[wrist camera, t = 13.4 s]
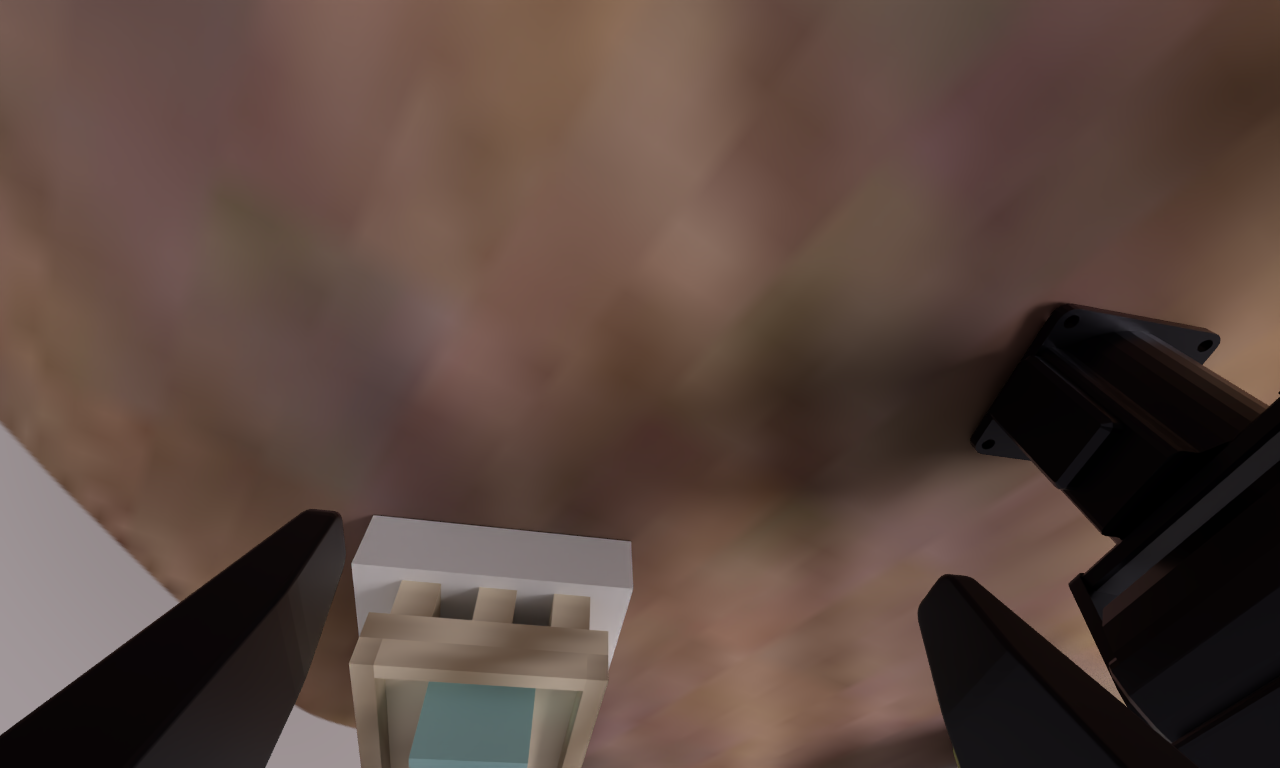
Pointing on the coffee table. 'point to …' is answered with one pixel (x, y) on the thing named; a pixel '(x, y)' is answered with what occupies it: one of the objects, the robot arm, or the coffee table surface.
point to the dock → (493, 570)
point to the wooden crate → (477, 670)
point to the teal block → (473, 727)
